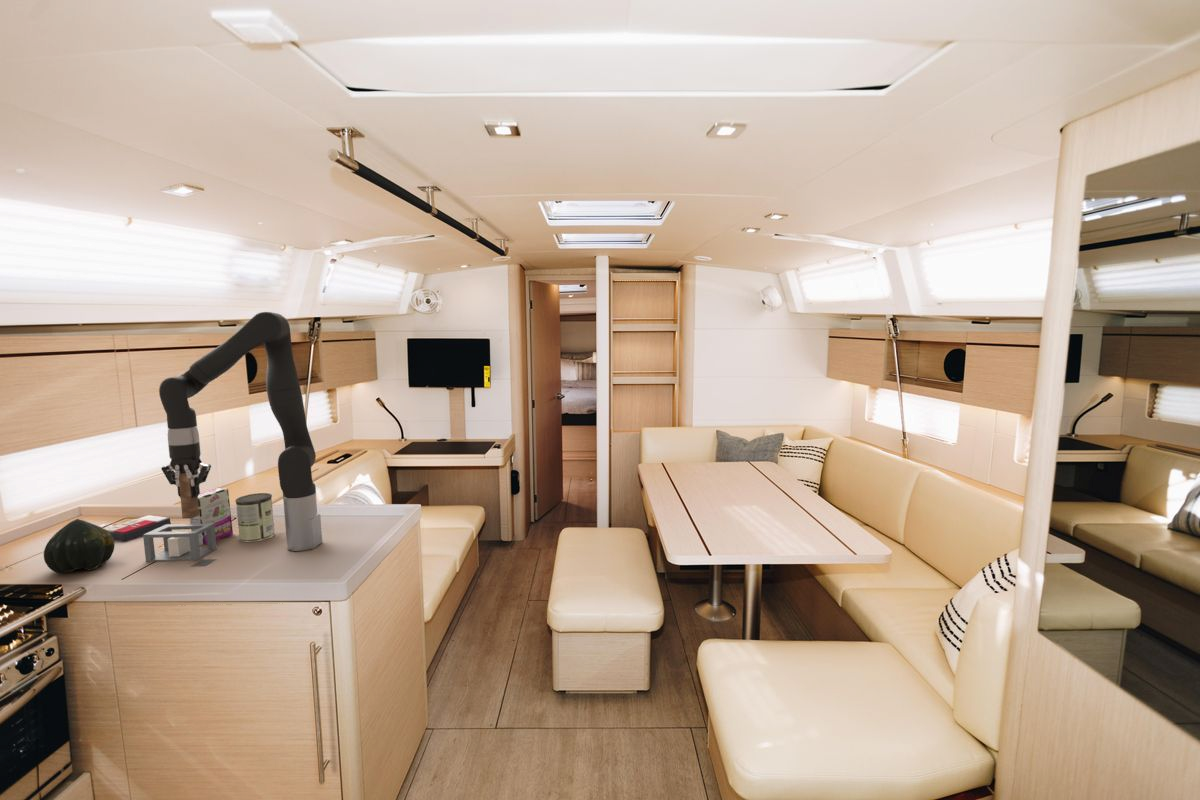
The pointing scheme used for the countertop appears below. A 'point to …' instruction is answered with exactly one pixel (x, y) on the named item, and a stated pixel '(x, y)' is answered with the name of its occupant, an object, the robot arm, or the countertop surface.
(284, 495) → the robot arm
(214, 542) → the breaker guard
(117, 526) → the flat navy red box
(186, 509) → the wooden block
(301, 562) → the countertop surface
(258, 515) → the coffee can
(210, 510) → the candy bar box
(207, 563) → the stylus pad
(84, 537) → the squash
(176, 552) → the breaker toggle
